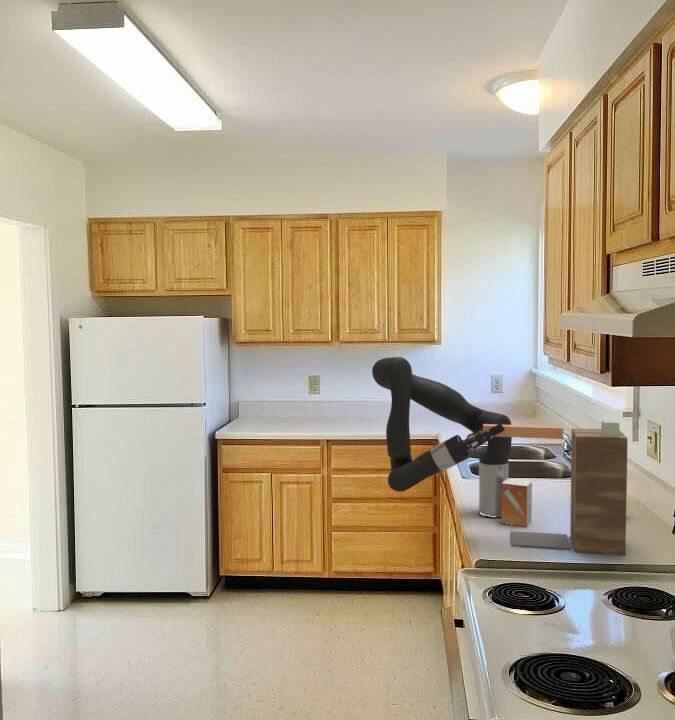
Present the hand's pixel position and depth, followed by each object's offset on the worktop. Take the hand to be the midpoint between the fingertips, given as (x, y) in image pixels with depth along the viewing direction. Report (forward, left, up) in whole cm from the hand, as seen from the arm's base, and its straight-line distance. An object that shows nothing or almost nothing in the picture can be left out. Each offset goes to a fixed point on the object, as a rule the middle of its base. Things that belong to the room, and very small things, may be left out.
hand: (502, 425), depth 204 cm
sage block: (+5, +28, -1) cm, 29 cm away
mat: (0, +10, -33) cm, 35 cm away
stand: (+1, +26, -33) cm, 42 cm away
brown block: (0, +5, -3) cm, 6 cm away
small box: (-17, +4, -34) cm, 38 cm away
